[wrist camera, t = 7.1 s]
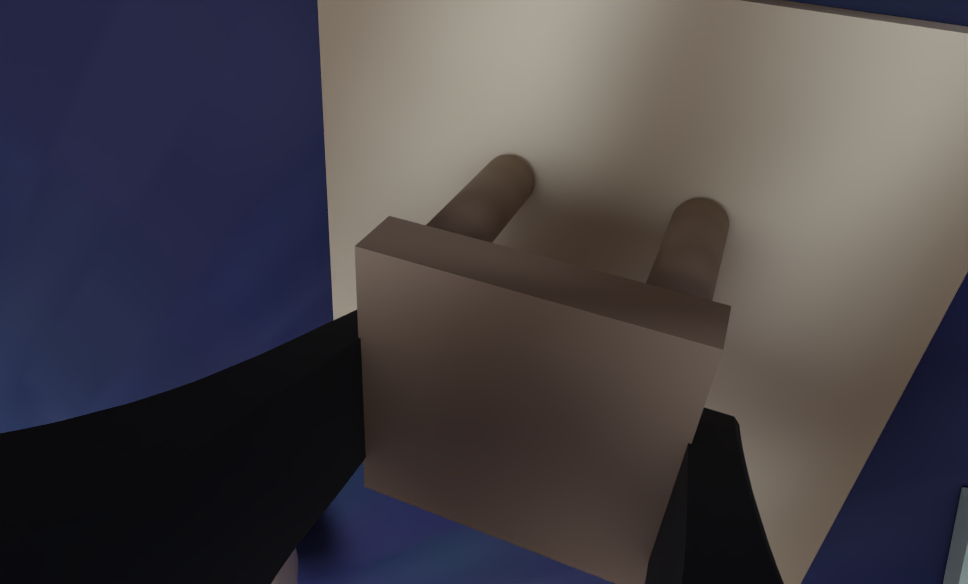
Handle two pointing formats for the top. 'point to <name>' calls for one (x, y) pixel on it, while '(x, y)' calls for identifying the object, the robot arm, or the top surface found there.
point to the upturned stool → (959, 545)
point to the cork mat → (690, 185)
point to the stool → (536, 375)
